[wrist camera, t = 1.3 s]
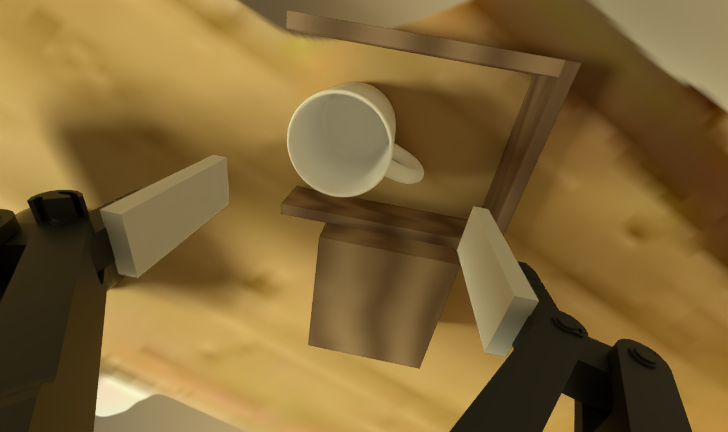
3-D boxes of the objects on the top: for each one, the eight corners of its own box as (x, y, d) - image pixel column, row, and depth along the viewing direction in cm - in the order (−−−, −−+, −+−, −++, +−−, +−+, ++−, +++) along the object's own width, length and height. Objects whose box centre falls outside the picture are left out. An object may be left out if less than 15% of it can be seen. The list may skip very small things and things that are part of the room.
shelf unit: (290, 292, 44) (268, 336, 37) (305, 18, 28) (272, 4, 21) (445, 324, 43) (453, 375, 36) (552, 62, 27) (604, 63, 20)
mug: (442, 127, 31) (458, 154, 22) (399, 190, 35) (397, 235, 26) (340, 64, 29) (312, 65, 20) (307, 137, 33) (271, 165, 24)
